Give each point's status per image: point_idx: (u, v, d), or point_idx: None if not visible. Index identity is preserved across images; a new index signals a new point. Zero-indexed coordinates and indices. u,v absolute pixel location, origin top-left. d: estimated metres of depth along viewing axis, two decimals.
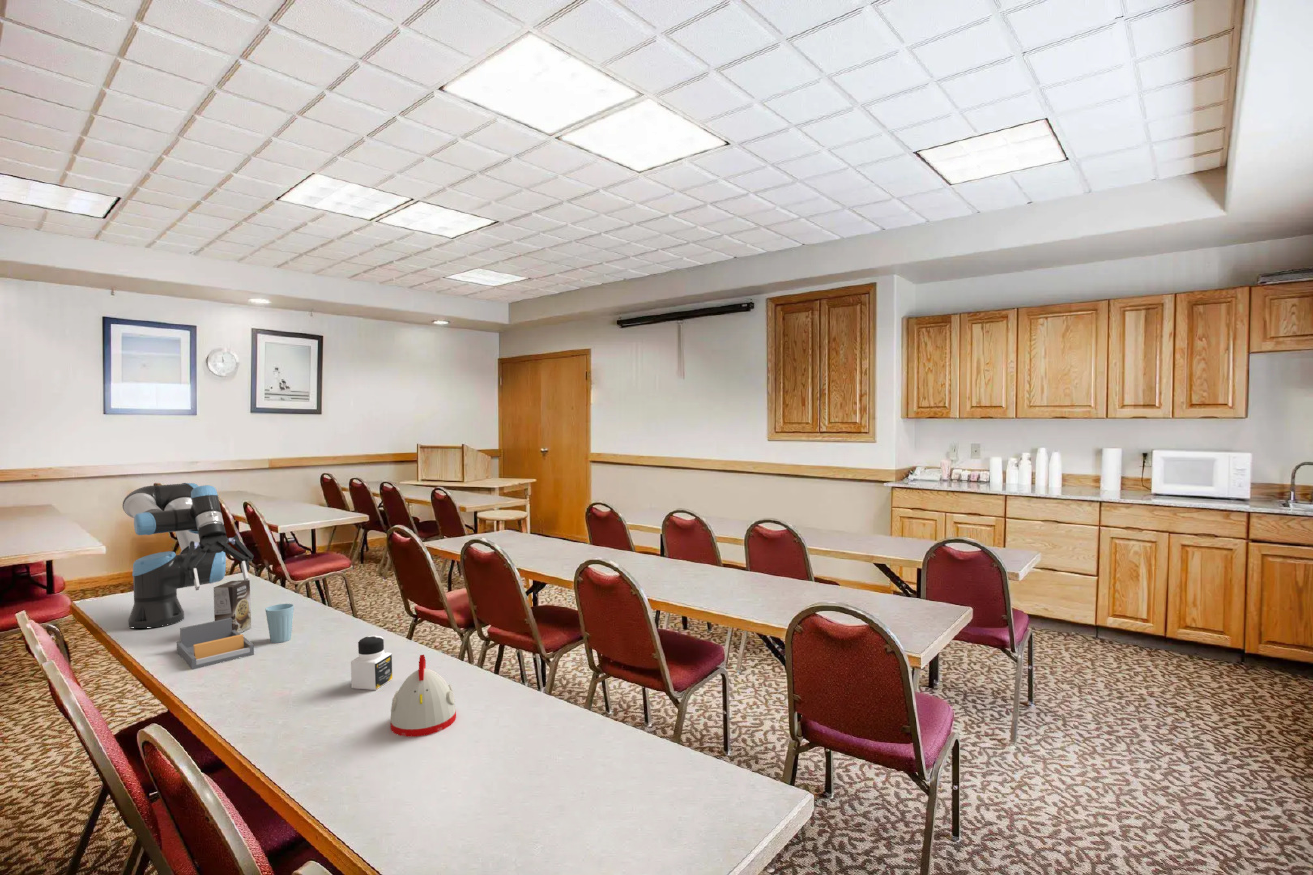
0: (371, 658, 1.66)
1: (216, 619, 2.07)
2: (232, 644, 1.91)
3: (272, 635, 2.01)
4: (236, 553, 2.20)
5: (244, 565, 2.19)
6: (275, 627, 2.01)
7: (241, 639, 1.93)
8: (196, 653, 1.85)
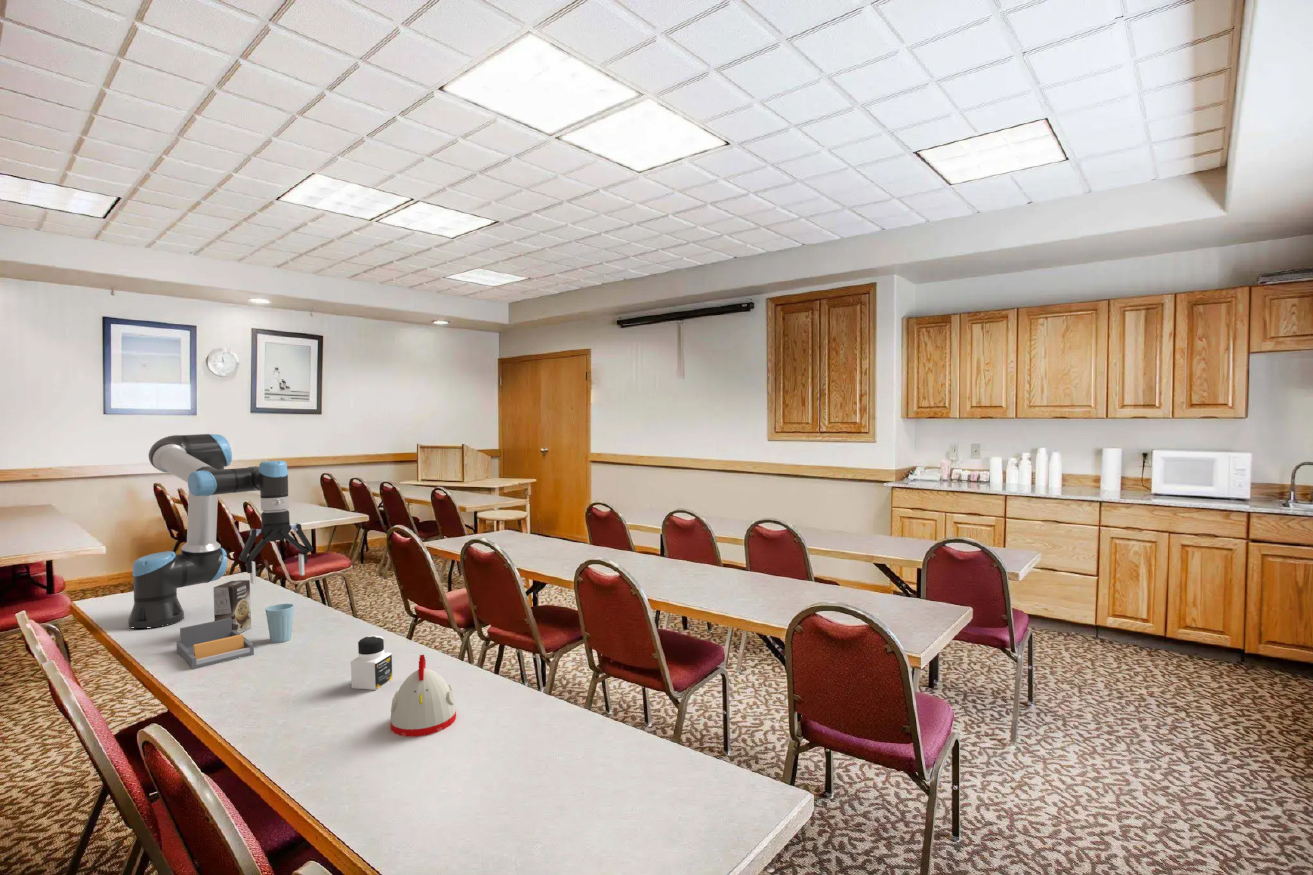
0: (371, 658, 1.66)
1: (216, 619, 2.07)
2: (232, 644, 1.91)
3: (272, 635, 2.01)
4: (296, 545, 2.06)
5: (302, 560, 2.07)
6: (275, 627, 2.01)
7: (241, 639, 1.93)
8: (196, 653, 1.85)
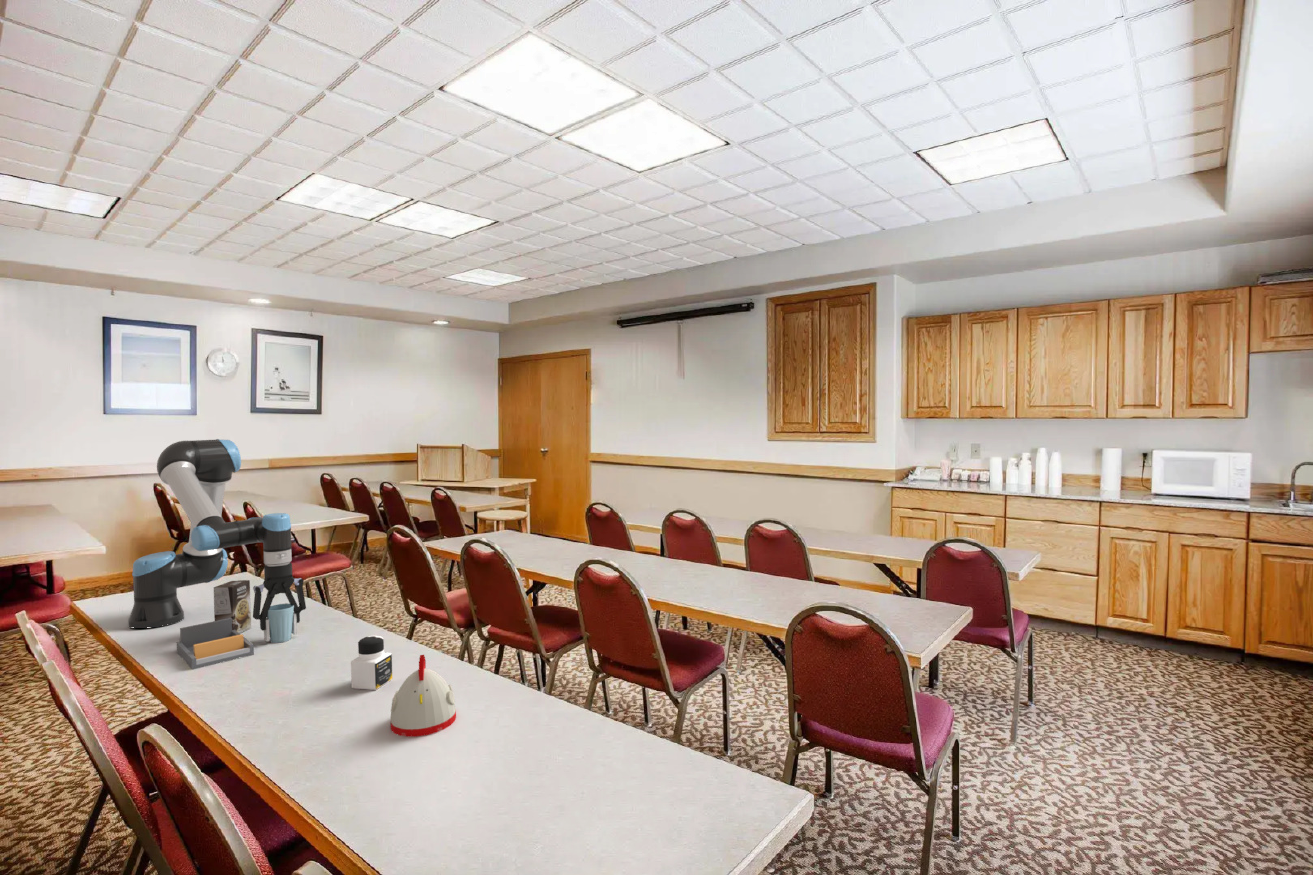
0: (371, 658, 1.66)
1: (216, 619, 2.07)
2: (232, 644, 1.91)
3: (272, 635, 2.01)
4: (292, 602, 2.05)
5: (295, 619, 2.06)
6: (275, 627, 2.01)
7: (241, 639, 1.93)
8: (196, 653, 1.85)
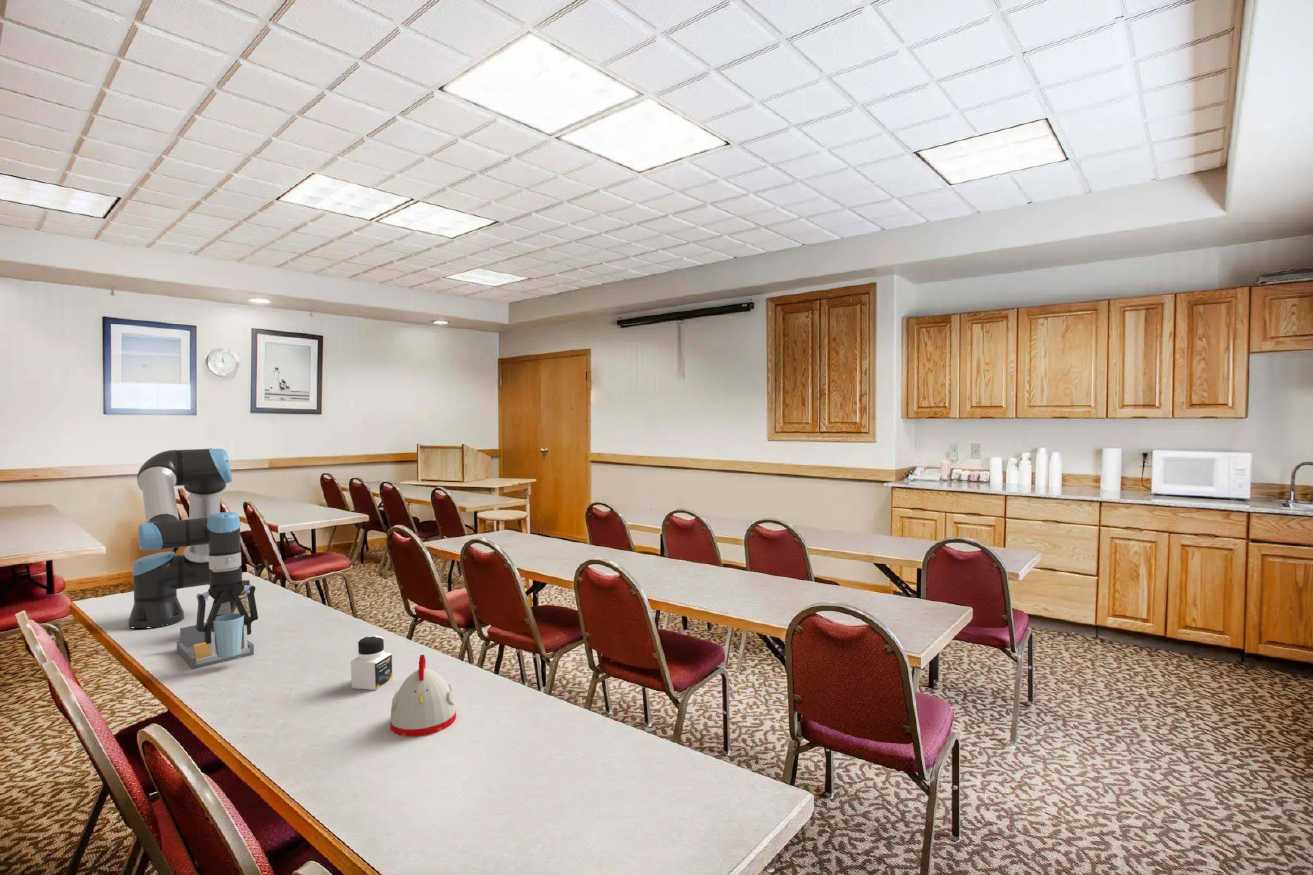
0: (371, 658, 1.66)
1: None
2: None
3: (218, 649, 1.79)
4: (242, 611, 1.83)
5: (245, 631, 1.83)
6: (221, 640, 1.78)
7: None
8: (196, 653, 1.85)
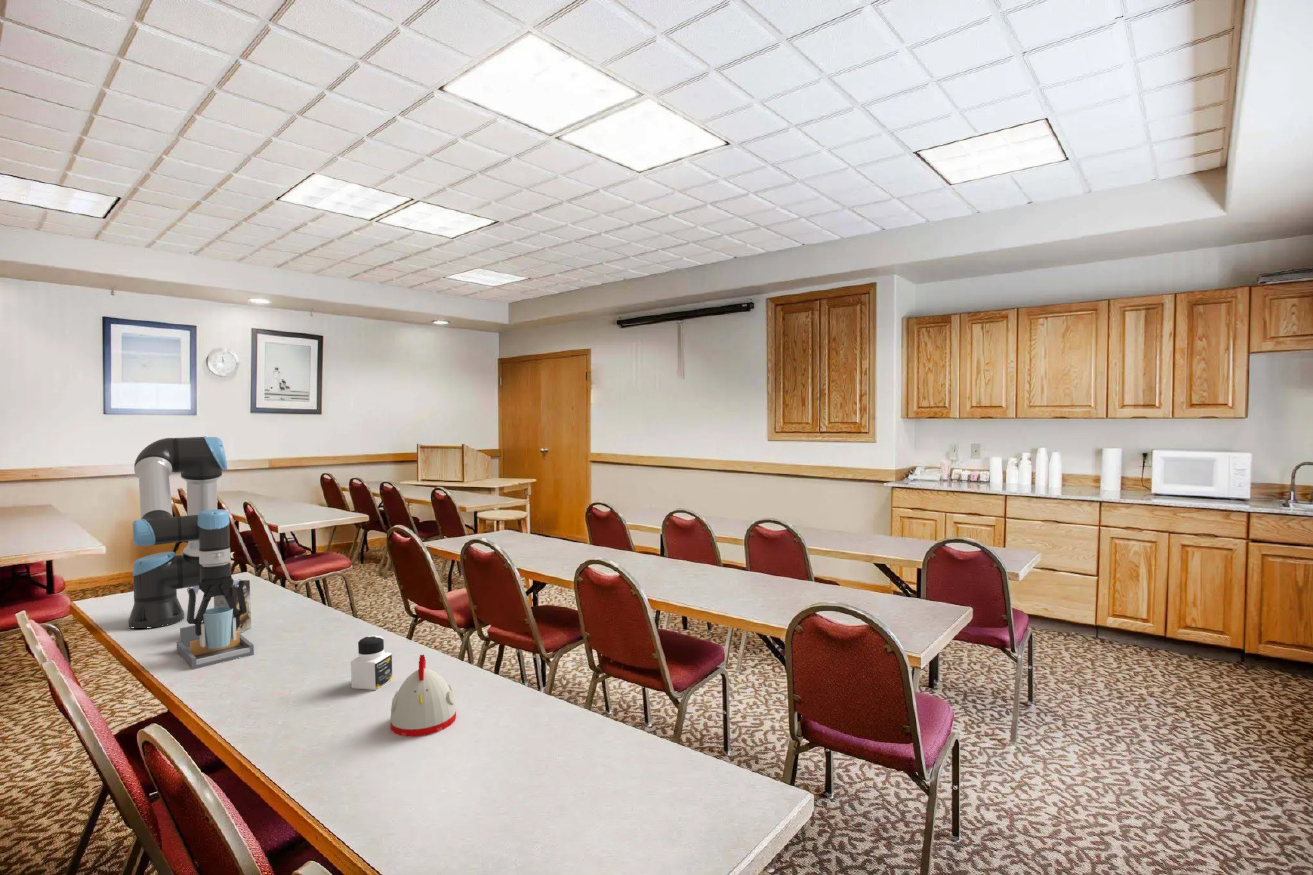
0: (371, 658, 1.66)
1: None
2: None
3: (208, 641, 1.87)
4: (231, 605, 1.91)
5: (234, 623, 1.91)
6: (211, 632, 1.86)
7: (237, 636, 1.96)
8: (193, 649, 1.88)
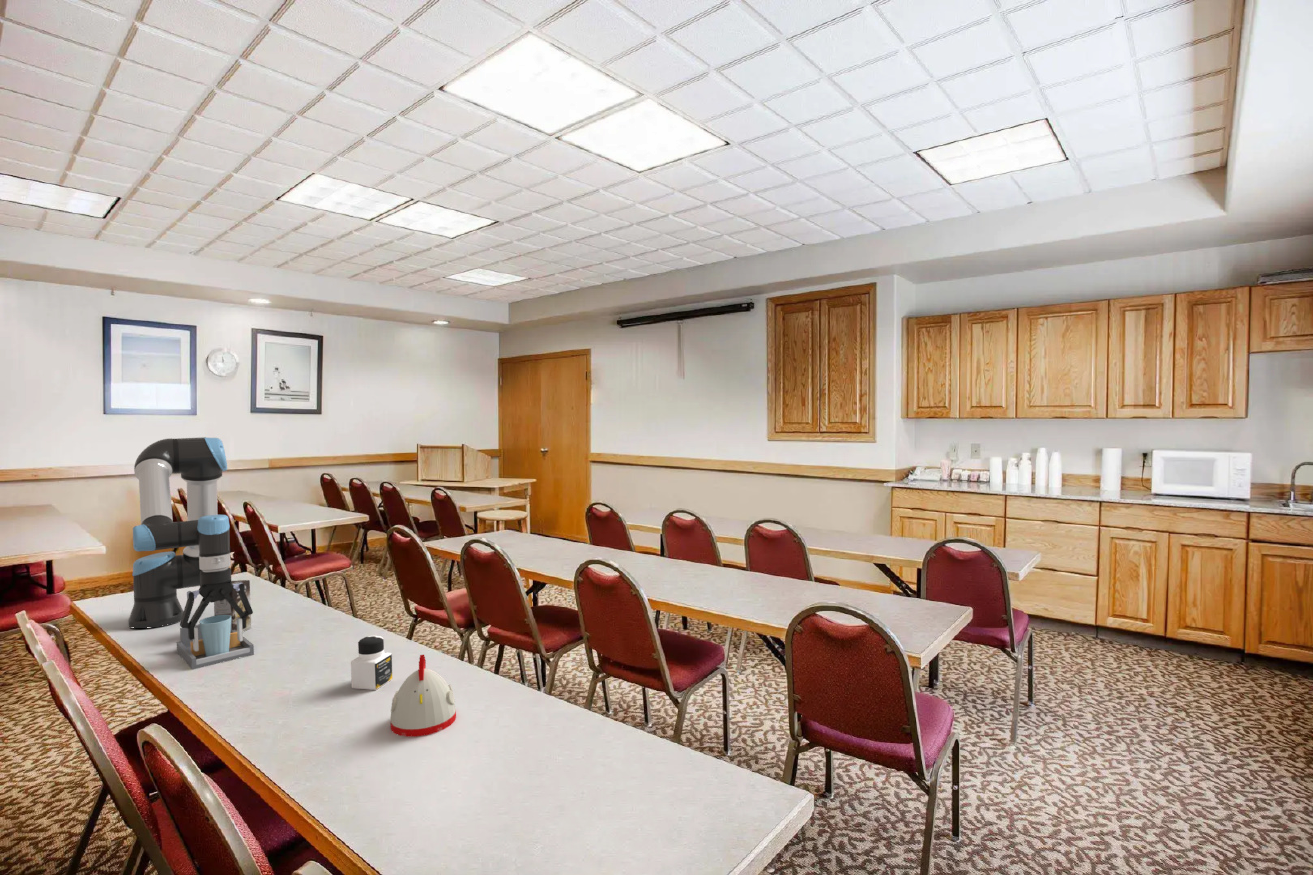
0: (371, 658, 1.66)
1: None
2: None
3: (207, 649, 1.86)
4: (235, 607, 1.92)
5: (240, 625, 1.93)
6: (210, 641, 1.86)
7: None
8: (193, 650, 1.87)
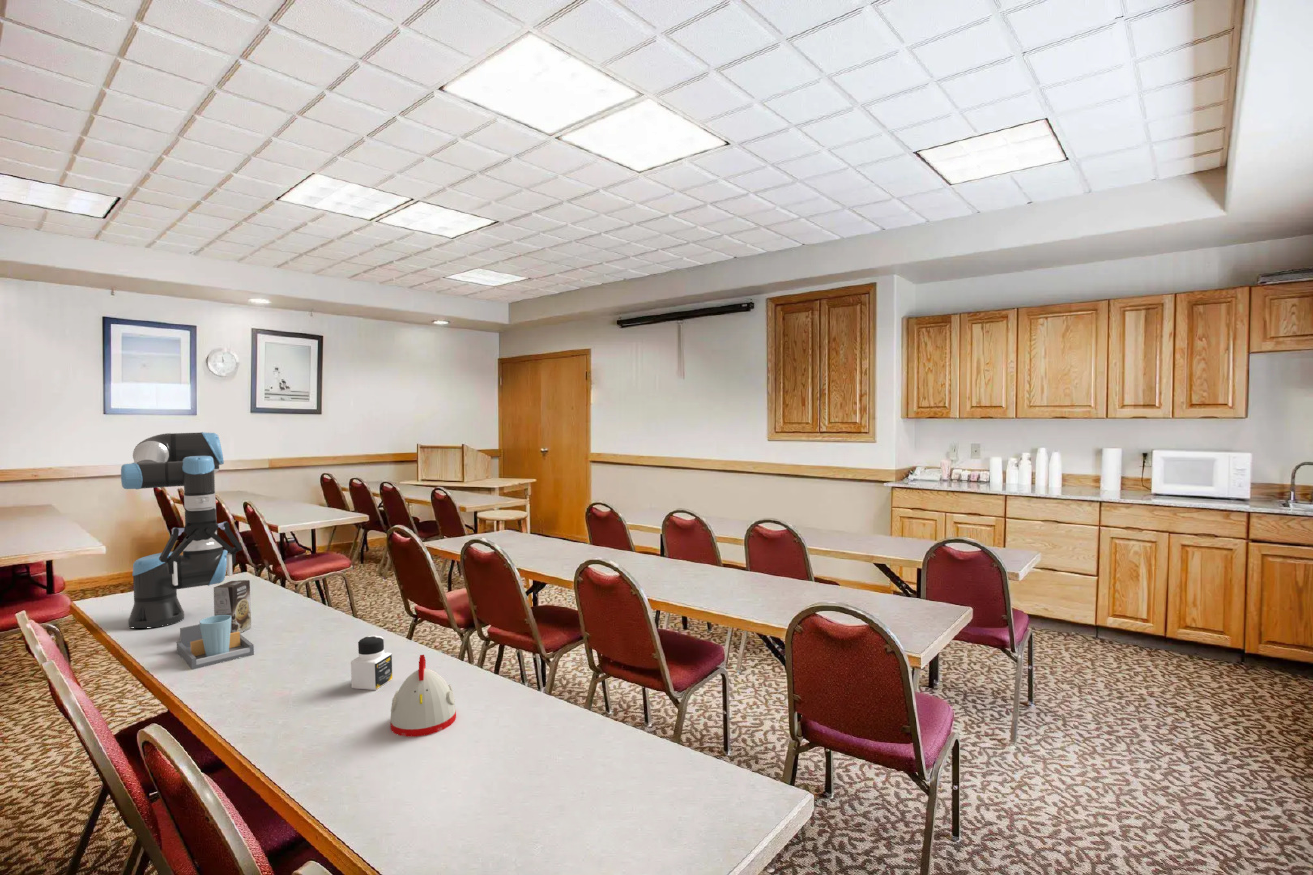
0: (371, 658, 1.66)
1: None
2: None
3: (207, 649, 1.86)
4: (223, 545, 1.96)
5: (230, 560, 1.97)
6: (210, 641, 1.86)
7: (237, 636, 1.95)
8: (193, 650, 1.87)
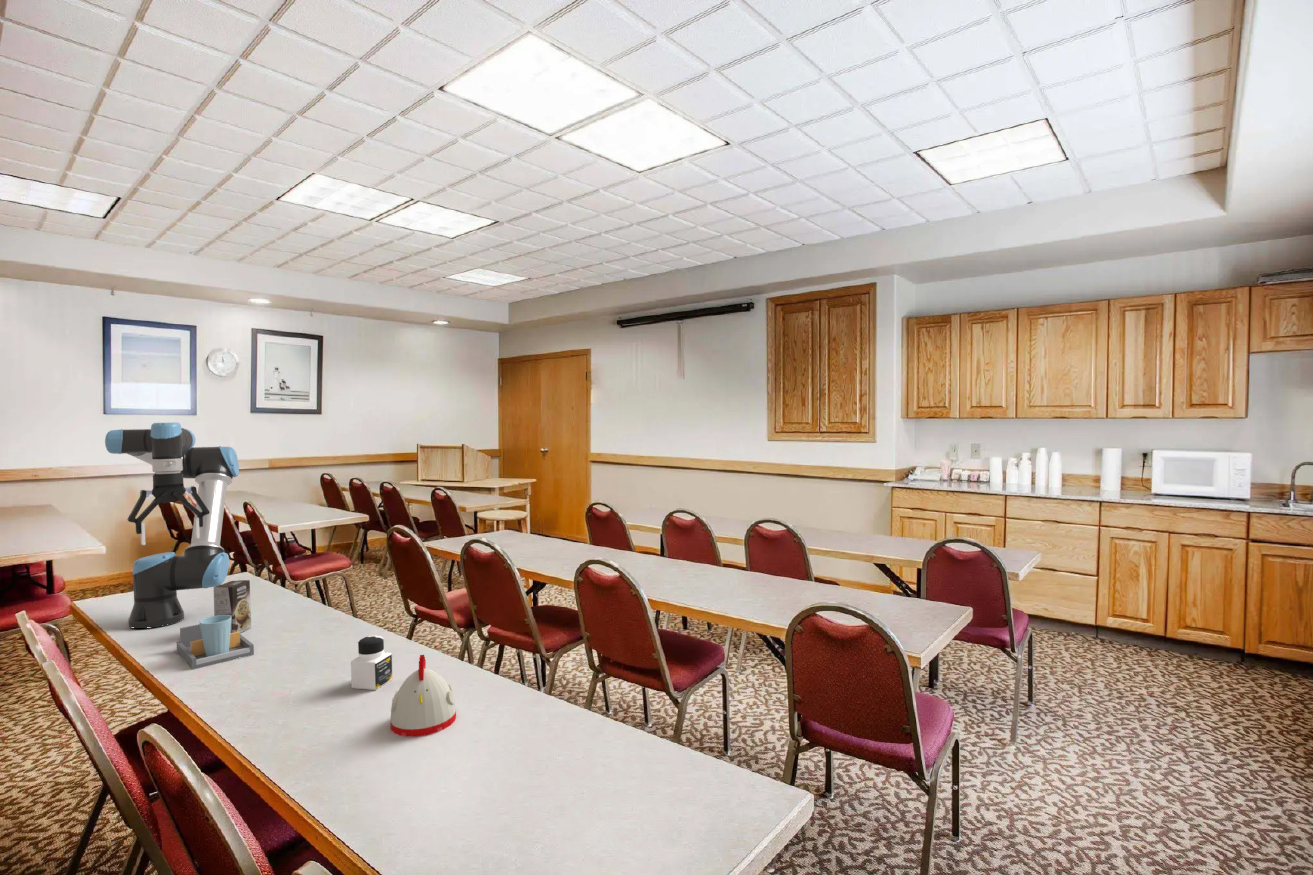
0: (371, 658, 1.66)
1: None
2: None
3: (207, 649, 1.86)
4: (191, 508, 2.05)
5: (197, 523, 2.06)
6: (210, 641, 1.86)
7: (237, 636, 1.95)
8: (193, 650, 1.87)
